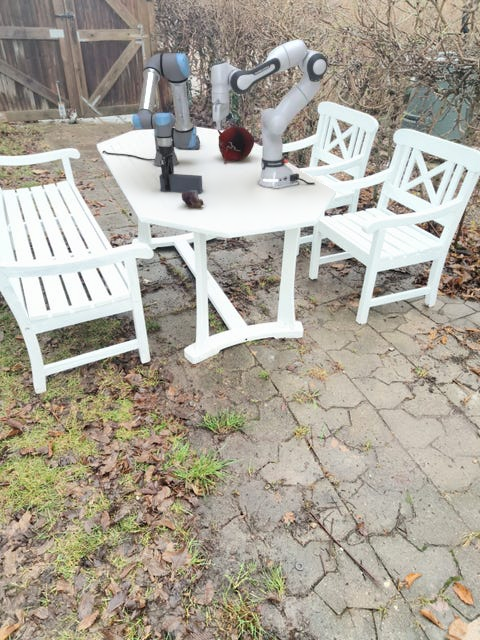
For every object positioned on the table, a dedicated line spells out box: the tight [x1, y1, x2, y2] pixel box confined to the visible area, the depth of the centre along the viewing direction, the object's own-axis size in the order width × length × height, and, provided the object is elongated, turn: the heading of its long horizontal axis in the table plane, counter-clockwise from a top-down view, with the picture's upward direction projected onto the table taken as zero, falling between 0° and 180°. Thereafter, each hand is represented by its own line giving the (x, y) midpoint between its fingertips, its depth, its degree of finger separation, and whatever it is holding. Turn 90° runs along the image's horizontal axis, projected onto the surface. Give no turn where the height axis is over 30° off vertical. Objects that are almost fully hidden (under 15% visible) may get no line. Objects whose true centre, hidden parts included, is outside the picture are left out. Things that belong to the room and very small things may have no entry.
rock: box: [181, 190, 205, 208], centre depth 227 cm, size 12×9×10 cm
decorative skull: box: [217, 125, 255, 165], centre depth 297 cm, size 21×24×25 cm
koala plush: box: [177, 120, 201, 150], centre depth 324 cm, size 17×18×20 cm
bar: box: [159, 173, 203, 195], centre depth 247 cm, size 23×5×8 cm, turn 77°
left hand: (169, 188), depth 250 cm, fingers closed on bar, 5 cm apart
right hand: (221, 127), depth 234 cm, fingers open, 8 cm apart
